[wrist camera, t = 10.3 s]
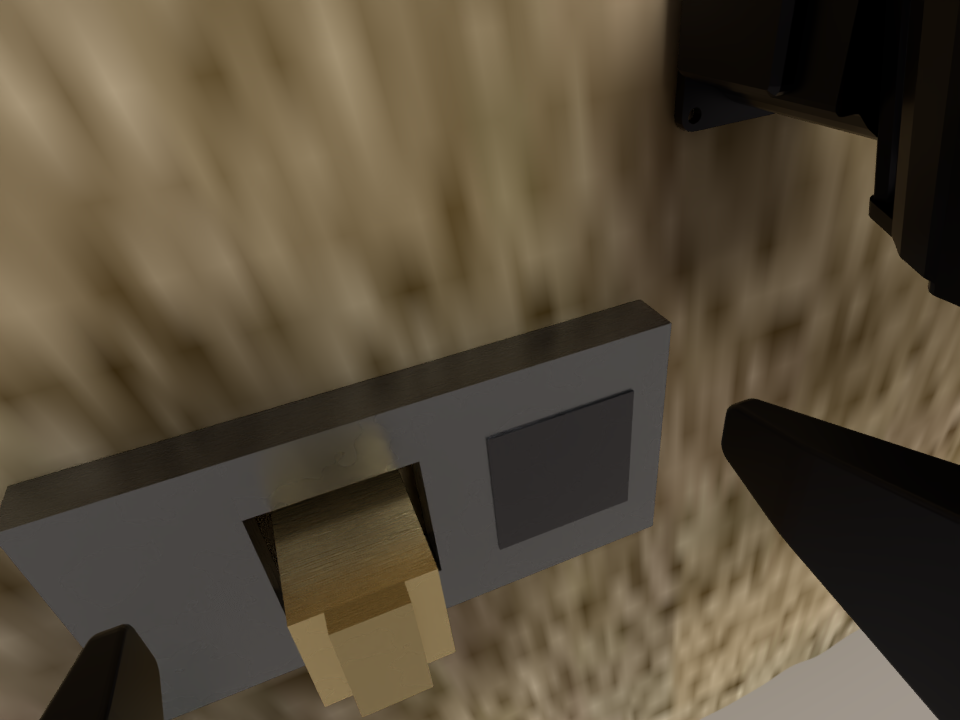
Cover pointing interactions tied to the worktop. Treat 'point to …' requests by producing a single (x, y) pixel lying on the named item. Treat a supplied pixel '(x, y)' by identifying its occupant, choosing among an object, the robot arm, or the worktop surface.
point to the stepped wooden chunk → (362, 593)
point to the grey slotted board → (343, 461)
